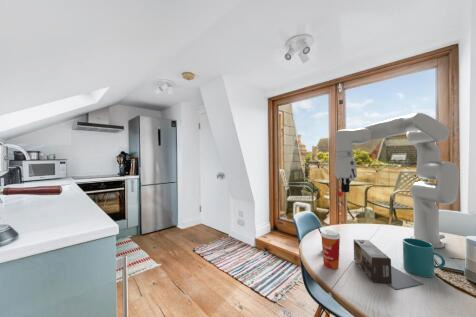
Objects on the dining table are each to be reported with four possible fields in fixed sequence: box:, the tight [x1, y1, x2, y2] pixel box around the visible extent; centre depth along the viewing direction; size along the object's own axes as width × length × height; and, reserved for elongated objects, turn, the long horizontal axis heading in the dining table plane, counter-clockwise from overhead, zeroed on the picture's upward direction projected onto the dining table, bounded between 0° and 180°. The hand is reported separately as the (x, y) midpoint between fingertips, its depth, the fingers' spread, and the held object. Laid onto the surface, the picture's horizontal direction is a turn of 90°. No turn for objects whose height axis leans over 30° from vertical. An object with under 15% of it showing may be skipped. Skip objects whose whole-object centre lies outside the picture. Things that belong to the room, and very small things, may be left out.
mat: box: [355, 262, 424, 290], centre depth 76 cm, size 12×17×1 cm
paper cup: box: [320, 229, 341, 270], centre depth 82 cm, size 8×8×14 cm
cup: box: [402, 237, 446, 278], centre depth 76 cm, size 9×12×11 cm
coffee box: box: [353, 238, 392, 284], centre depth 78 cm, size 9×6×16 cm
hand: (345, 191), depth 97 cm, fingers closed
